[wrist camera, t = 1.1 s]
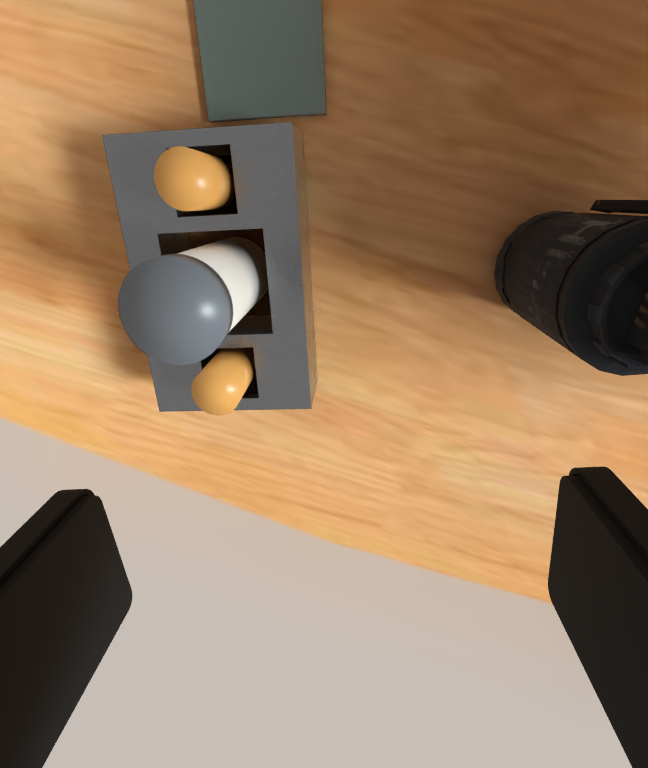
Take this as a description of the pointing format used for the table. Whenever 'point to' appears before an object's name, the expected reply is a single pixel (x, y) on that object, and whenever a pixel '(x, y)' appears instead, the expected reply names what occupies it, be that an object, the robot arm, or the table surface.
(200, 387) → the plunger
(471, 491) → the table surface
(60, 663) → the robot arm
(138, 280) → the ball
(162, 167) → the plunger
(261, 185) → the housing
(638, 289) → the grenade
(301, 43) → the mat
